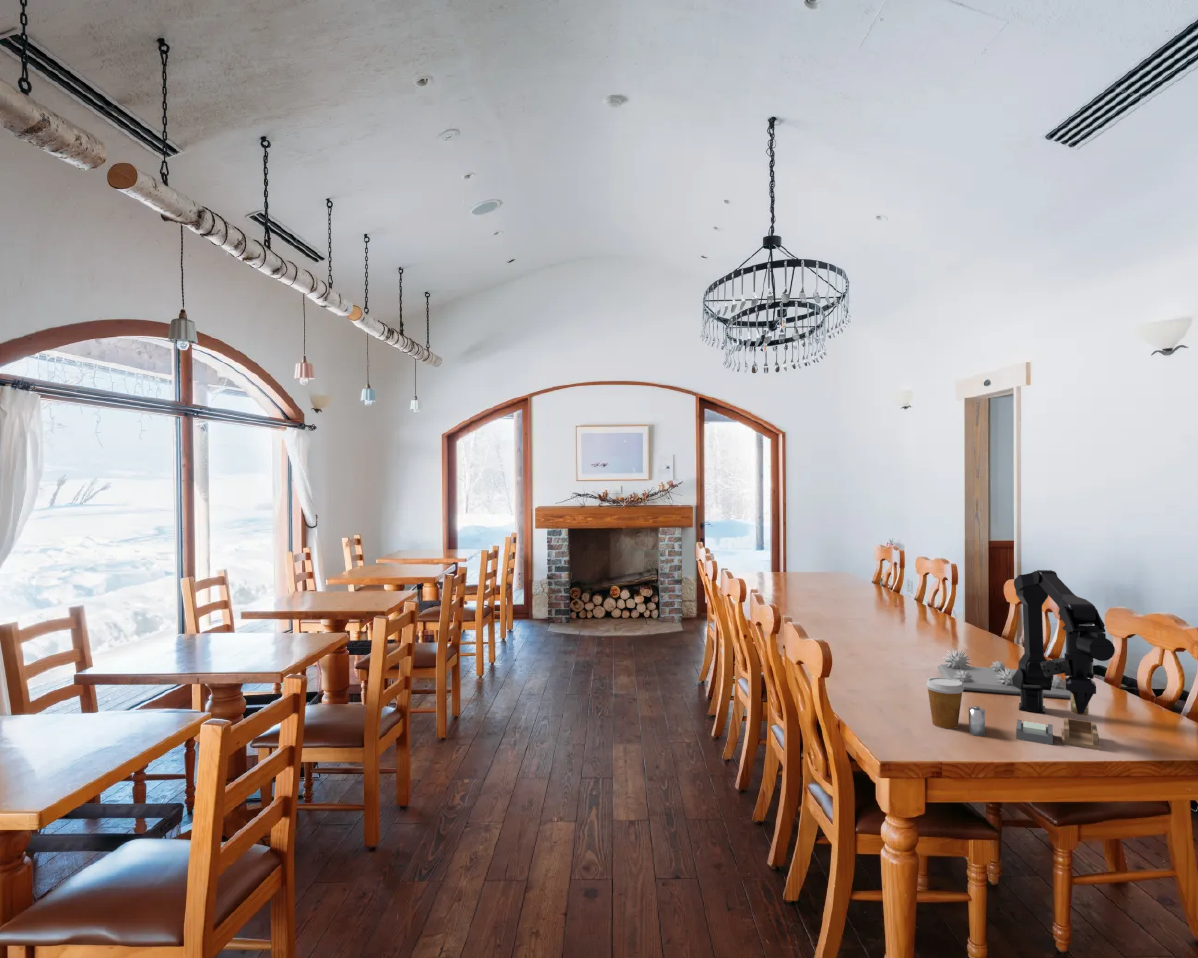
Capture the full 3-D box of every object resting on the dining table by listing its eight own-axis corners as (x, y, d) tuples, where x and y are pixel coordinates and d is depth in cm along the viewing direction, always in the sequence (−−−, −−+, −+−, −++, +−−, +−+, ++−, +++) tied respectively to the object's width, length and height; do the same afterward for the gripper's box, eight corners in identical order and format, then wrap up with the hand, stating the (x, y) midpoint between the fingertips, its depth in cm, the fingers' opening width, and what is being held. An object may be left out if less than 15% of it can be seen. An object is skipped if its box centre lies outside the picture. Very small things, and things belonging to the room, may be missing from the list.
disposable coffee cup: (952, 718, 197) (952, 676, 197) (971, 730, 188) (971, 686, 188) (919, 719, 197) (919, 676, 197) (937, 731, 187) (936, 686, 187)
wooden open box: (1061, 732, 186) (1061, 717, 186) (1098, 737, 182) (1098, 722, 182) (1062, 743, 178) (1062, 728, 178) (1100, 750, 173) (1100, 734, 173)
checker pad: (1023, 724, 186) (1023, 721, 186) (1045, 728, 183) (1045, 724, 183) (1023, 730, 182) (1023, 726, 182) (1045, 734, 179) (1045, 730, 179)
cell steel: (969, 729, 188) (969, 703, 188) (985, 732, 186) (985, 706, 186) (968, 734, 185) (968, 707, 185) (984, 737, 183) (984, 710, 183)
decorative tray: (949, 692, 224) (948, 661, 224) (936, 671, 248) (936, 643, 248) (1075, 701, 213) (1074, 669, 213) (1048, 679, 238) (1048, 650, 238)
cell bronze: (1070, 709, 182) (1070, 682, 182) (1088, 711, 180) (1087, 684, 180) (1071, 713, 179) (1070, 686, 179) (1089, 716, 177) (1088, 688, 177)
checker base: (1017, 729, 188) (1017, 719, 188) (1052, 735, 184) (1052, 724, 184) (1016, 738, 181) (1016, 728, 181) (1052, 744, 177) (1052, 733, 177)
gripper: (1042, 640, 192) (1043, 696, 192) (1042, 654, 176) (1042, 716, 176) (1091, 645, 186) (1092, 703, 186) (1096, 660, 170) (1096, 724, 170)
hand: (1079, 711), depth 180 cm, fingers closed on cell bronze, 4 cm apart
